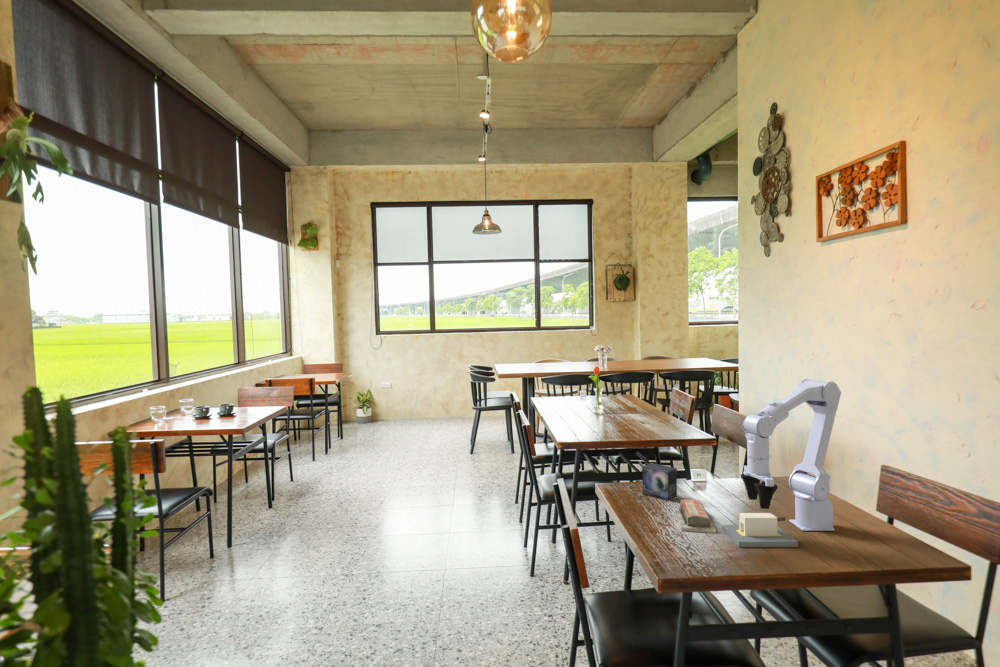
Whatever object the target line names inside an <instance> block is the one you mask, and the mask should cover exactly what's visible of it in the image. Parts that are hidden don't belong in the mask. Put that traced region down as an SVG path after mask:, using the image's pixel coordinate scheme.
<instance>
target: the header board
mask: <svg viewBox="0 0 1000 667" xmlns="http://www.w3.org/2000/svg"><path fill="white" fill-rule="evenodd" d="M722 530H723V531H724V532H725V533H726V534H727V535H728V536H729V537H730V538H729V537H728V536H727V535H726V534H725V533H724V532H723V531H722ZM721 531H722V532H723V533H724V534H725V535H726V536H727V537H728V538H729V539H730V540H731V541H732V542H733V543H734V544H735V545H736V546H737V548H798V547H799V541H798V540H797V539H796V538H794V537H792V535H790V534H789V533H788V532H786V531H785V530H783V528H781V527H780V526H778V525H777V535H744V531H740V530H739V524H737V525H734V524H732V525H731V524H723V525H721Z"/></svg>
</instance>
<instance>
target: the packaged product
mask: <svg viewBox="0 0 1000 667" xmlns="http://www.w3.org/2000/svg"><path fill="white" fill-rule="evenodd" d="M679 503H680V504H679V507H678V506H676V507H674V512H675V514H676V519H677V523H678V526H679V528H680V531H681V532H692V533H693V532H694V533H709V534H716V533H717V530H716V527H715V526H714V524H713V522H712V520H711V518H710V516H709V513H708V512H707V510H706V509H705V507H704V505H703V502H701V500H698V499H687V498H686V499H685V498H684V499H683V498H682V499H680V502H679Z"/></svg>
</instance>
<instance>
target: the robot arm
mask: <svg viewBox="0 0 1000 667" xmlns="http://www.w3.org/2000/svg"><path fill="white" fill-rule="evenodd" d="M841 395H842V392H841V389H840V387H839V386H838V384H837V383H836V382H835V381H823V380H814V379H809V378H808V379H807V378H804V379H802V380H800V381H799V382H797V383H796V386H795V389H794V390H792V391H791V392H790V393H789V394H787V395H786V396H785V397H784V398H782V400H780V401H775V400H774V401H770V402H768V404H767V406H765V407H764V408H762V409H759V410H758V411H757V413H755V414H752V413H751V414H748V415H747V416H746V417H745V418H744V419H743V421H742V424H741V428H742V430H743V432H744V434H745V435H744V436H745V439H746V451H747V453H746V455H747V457H746V459H747V460H746V462H747V465H744V466H743V471H742V474H740V477H741V479H742V481H743V483H744V486H745V490H746V494H747V498H748V500H750V501H752V500H753V501H755V500H756V501H757V500H758V503H759V507H760V509H762V510H765V509H766V510H769V509H770V506H771V503H772V499H773V496H774V495H775V492H776V491H777V490H778V485H777V484H776V483H775V480H774V478H773V477H772V475H771V473H770V436H772V435H773V434H774V430H775V429H776V428H777V426H778V425H779V424H780V423H782V422H784V421H785V420H786V419H787V418H789V414H790V413H789V412H790V411H792V410H793V409H796V408H797V407H798V406H800V405H802V404H803V403H806V405H808V407H810V408H811V409H812V410H813V412H814V414H813V418H812V422H811V426H810V427H811V428H810V430H809V435H808V439H807V443H806V447H805V451H804V455H803V458H802V459H803V460H802V462H800V463H798V464H795V466H794V467H793V470H792V472H791V474H790V476H789V478H788V486H789V488H790V490H791V491H792V494H793V495H794V498H795V499H794V511H795V512H794V515H795V518H794V519H790V518H789V520H788V521H789V522H790V523H791V524H793V525H794V526H795V527H797V528H798V529H799V530H801V531H805V532H806V531H807V532H808V531H809V532H810V531H813V532H814V531H821V532H822V531H823V532H824V531H826V532H827V531H830V532H831V531H835V530H836V529H835V528H834V507H833V506H834V505H833V503H832V501H831V499H830V498H829V497H828V496H829V494H830V489H831V488H830V480H831V476H830V475H829V473H828V472H827V471H826V469H825V468H824V464H825V461H826V456H827V454H828V453H827V452H828V447H829V444H830V439H831V435H832V431H833V427H834V423H835V417H836V414H837V411H838V408H839V407H838V406H839V404H840V399H841Z"/></svg>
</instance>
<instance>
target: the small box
mask: <svg viewBox="0 0 1000 667" xmlns="http://www.w3.org/2000/svg"><path fill="white" fill-rule="evenodd" d="M677 471H678V469H677V468H676V467H673V466H668V465H664V464H658V463H652V462H651V463H648V464H646V465H643V466H642V494H643V495H644V494H645V495H644V496H648V495H649V497H651V496H652V497H653V498H655V497H656V499H659V498H660V499H659V500H663V501H666V500H667V502H670V501H672V500H674V499H676V498H678V489H677V488H678V481H677V476H678V475H677V474H678V472H677ZM675 497H676V498H675ZM673 498H674V499H673ZM671 499H672V500H671ZM669 500H670V501H669Z"/></svg>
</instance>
